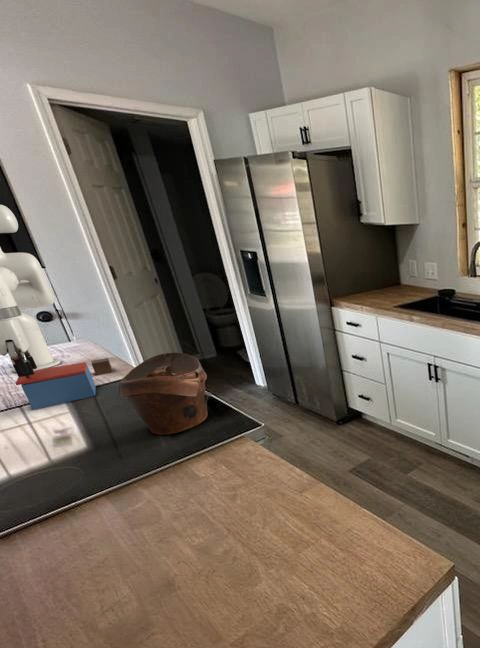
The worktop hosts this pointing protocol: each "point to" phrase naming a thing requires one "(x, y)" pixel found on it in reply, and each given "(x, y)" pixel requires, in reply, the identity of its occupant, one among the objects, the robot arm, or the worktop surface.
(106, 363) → the walnut block
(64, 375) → the box lid
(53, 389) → the storage box
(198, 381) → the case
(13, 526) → the worktop surface
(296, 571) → the worktop surface
